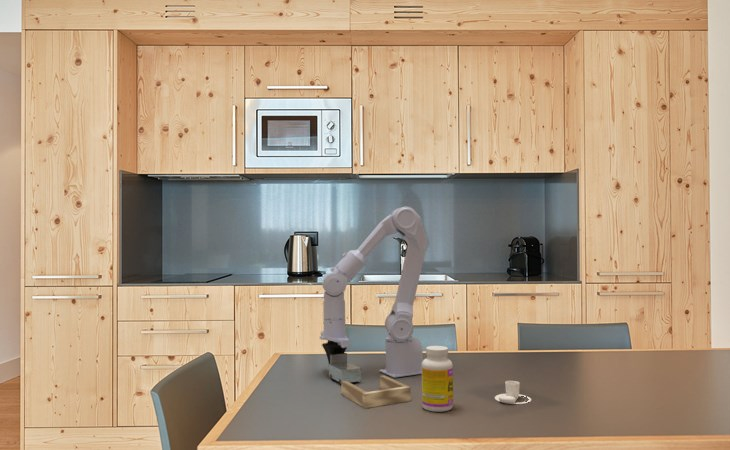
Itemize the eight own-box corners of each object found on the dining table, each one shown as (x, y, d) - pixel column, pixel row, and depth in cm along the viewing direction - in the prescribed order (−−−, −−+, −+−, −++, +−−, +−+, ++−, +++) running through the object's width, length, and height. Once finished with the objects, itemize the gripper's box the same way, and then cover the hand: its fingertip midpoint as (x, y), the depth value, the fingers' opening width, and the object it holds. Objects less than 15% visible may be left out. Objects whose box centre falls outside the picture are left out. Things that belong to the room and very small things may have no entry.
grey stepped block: (328, 378, 150) (328, 354, 150) (348, 376, 153) (347, 352, 153) (341, 386, 143) (340, 360, 143) (361, 383, 146) (361, 358, 146)
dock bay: (384, 387, 141) (384, 375, 141) (410, 400, 130) (410, 387, 130) (341, 394, 136) (341, 381, 136) (364, 408, 125) (364, 394, 125)
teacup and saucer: (508, 408, 125) (508, 389, 125) (484, 399, 132) (484, 381, 132) (539, 402, 129) (538, 384, 129) (514, 394, 136) (514, 376, 136)
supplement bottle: (452, 413, 121) (451, 351, 121) (420, 412, 122) (419, 350, 122) (454, 404, 128) (453, 345, 128) (423, 402, 129) (423, 344, 129)
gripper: (310, 316, 158) (310, 366, 158) (331, 323, 145) (332, 378, 145) (334, 314, 162) (334, 363, 161) (356, 321, 149) (357, 374, 148)
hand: (335, 370), depth 154 cm, fingers closed
